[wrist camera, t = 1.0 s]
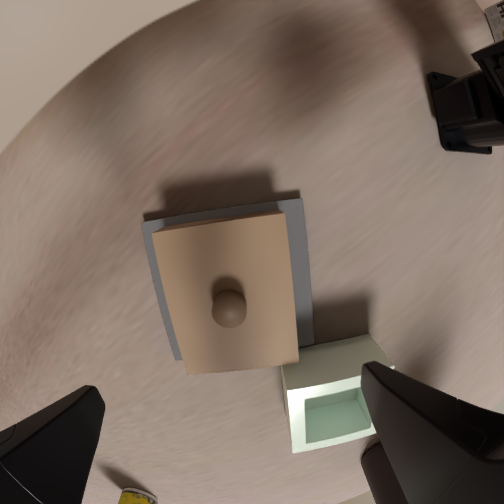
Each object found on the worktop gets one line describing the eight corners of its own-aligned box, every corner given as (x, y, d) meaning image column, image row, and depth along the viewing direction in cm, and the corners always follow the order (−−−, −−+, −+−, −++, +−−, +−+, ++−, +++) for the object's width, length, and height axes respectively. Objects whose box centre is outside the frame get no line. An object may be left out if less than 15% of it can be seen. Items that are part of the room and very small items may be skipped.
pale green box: (369, 333, 19) (394, 365, 15) (362, 397, 21) (380, 431, 16) (278, 351, 19) (287, 390, 15) (285, 414, 21) (292, 453, 16)
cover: (279, 209, 16) (288, 215, 13) (292, 341, 18) (302, 371, 15) (164, 226, 16) (145, 236, 13) (193, 353, 18) (184, 384, 15)
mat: (300, 197, 17) (302, 198, 16) (312, 339, 19) (314, 344, 19) (144, 221, 17) (140, 222, 16) (177, 356, 19) (175, 360, 19)
